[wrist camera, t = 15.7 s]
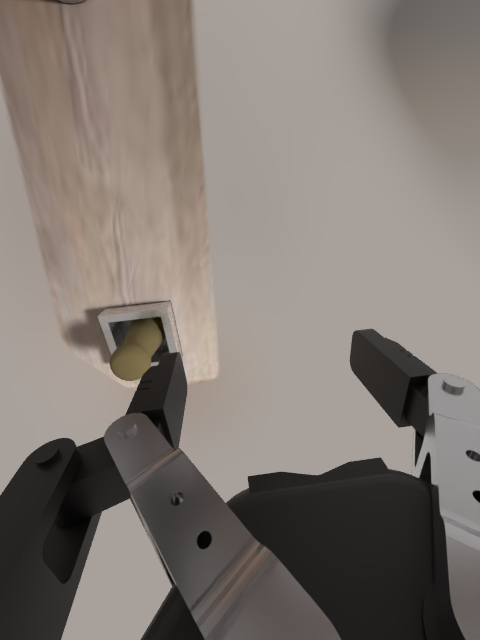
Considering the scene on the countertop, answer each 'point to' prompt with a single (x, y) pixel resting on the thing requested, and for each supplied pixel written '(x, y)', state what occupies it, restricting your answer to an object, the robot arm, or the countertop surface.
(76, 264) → the countertop surface
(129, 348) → the cork
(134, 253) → the countertop surface
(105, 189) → the countertop surface
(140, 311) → the grey shallow square box
